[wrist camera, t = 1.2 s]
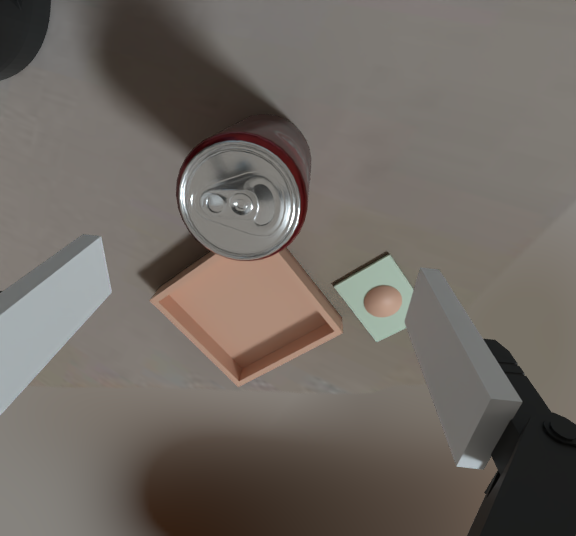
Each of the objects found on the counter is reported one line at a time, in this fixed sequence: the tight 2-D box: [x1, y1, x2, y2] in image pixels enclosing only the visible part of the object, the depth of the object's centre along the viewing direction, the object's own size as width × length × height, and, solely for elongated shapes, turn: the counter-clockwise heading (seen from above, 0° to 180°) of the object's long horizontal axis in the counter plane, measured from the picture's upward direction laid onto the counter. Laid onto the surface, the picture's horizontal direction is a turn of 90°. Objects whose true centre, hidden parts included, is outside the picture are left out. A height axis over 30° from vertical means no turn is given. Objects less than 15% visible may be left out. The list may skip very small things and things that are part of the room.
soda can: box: [176, 114, 311, 261], centre depth 24 cm, size 7×7×12 cm
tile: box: [334, 254, 414, 342], centre depth 35 cm, size 8×6×1 cm
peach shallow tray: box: [149, 248, 343, 387], centre depth 35 cm, size 13×13×2 cm
